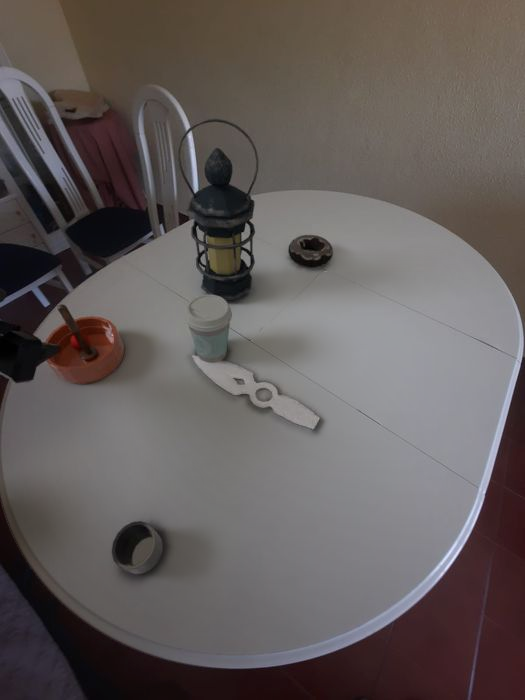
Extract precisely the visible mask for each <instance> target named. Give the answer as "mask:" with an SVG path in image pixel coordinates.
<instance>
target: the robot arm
mask: <svg viewBox="0 0 525 700" xmlns="http://www.w3.org/2000/svg"><path fill="white" fill-rule="evenodd" d="M6 297H7V291H6V290H4V289H2V288H0V303H3V302H4V301H5V299H6ZM21 329H22V326H21V325H20V324H18V323H13V322H9V321H6V320H2V319H0V375H1V376H3V377H4V378H6V379H8V380H9V381H11V382H13V383H15V384H21V383H23V384H24V383H30V382H32V381H34V379H35V375H36V371H37V368H38V367H39V366H40V365H41V364H44V363H45V362H47V361H46V360H48V359H49V358H51V357H52V356H54V355H56V354H57V353H59V352H60V349H61V346H60V345H57V344H51V343H45V341H42V339H41V338H39V337H38V336H36V335H34V334H32V333H30V332H28V331H26V330H24V332H23V331H21Z"/></svg>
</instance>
